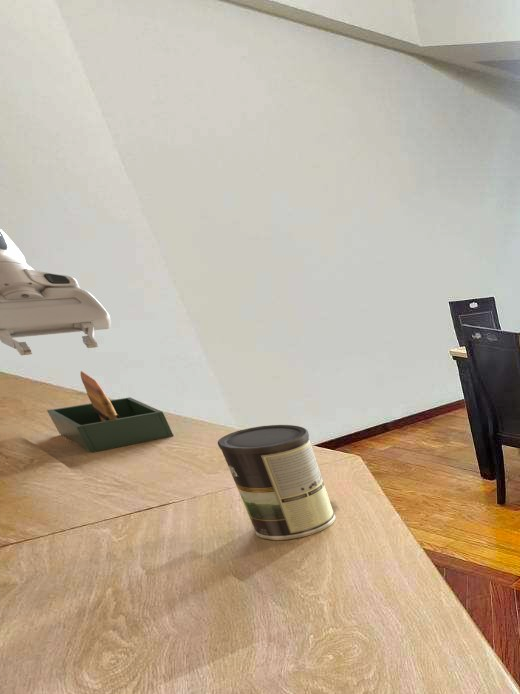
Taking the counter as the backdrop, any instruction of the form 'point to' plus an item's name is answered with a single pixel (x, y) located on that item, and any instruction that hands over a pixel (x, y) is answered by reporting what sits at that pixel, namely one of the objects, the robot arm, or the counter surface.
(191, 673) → the counter surface
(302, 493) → the coffee can
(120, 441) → the tray
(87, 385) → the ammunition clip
